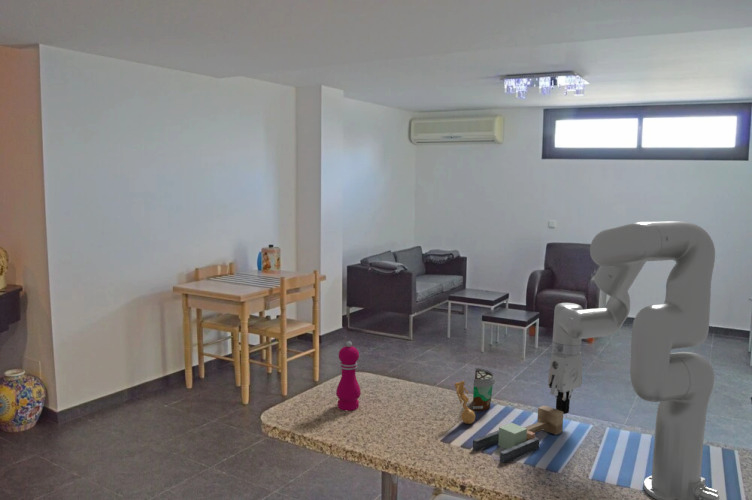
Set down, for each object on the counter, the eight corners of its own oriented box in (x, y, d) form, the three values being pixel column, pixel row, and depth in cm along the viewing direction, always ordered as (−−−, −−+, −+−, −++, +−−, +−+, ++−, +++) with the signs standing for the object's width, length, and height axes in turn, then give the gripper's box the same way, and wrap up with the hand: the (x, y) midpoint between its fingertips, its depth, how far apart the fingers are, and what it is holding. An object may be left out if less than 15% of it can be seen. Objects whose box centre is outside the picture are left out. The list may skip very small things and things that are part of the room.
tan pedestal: (563, 432, 166) (564, 412, 166) (531, 446, 158) (532, 424, 157) (542, 424, 171) (543, 405, 171) (510, 437, 163) (511, 416, 162)
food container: (493, 415, 179) (495, 381, 178) (472, 413, 180) (473, 379, 179) (494, 400, 191) (495, 368, 190) (474, 398, 192) (475, 367, 191)
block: (526, 447, 158) (527, 428, 157) (513, 452, 154) (514, 433, 154) (510, 440, 161) (511, 422, 161) (498, 445, 158) (499, 427, 158)
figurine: (471, 429, 168) (473, 387, 166) (450, 426, 170) (451, 384, 168) (477, 418, 175) (479, 378, 174) (457, 415, 178) (458, 375, 176)
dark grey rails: (539, 448, 157) (539, 439, 157) (503, 463, 148) (504, 453, 148) (508, 435, 164) (508, 426, 164) (472, 449, 156) (473, 439, 155)
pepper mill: (332, 409, 181) (333, 343, 178) (341, 401, 187) (341, 337, 185) (355, 412, 179) (356, 345, 176) (363, 404, 185) (364, 339, 183)
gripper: (562, 356, 162) (557, 423, 164) (593, 346, 171) (589, 410, 173) (538, 349, 167) (534, 413, 170) (570, 340, 177) (566, 401, 179)
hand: (562, 411), depth 172 cm, fingers closed
